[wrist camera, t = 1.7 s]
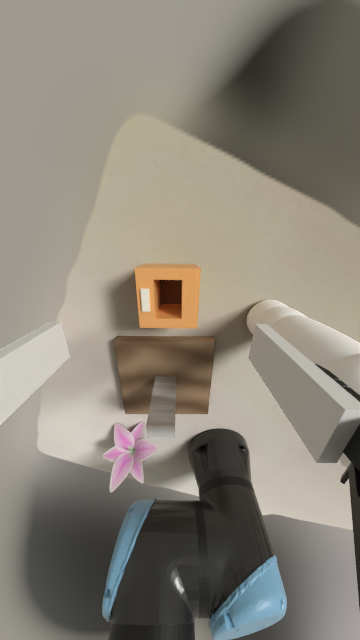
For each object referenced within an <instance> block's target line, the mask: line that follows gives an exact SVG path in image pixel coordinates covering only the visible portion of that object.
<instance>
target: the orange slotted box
mask: <svg viewBox="0 0 360 640" xmlns="http://www.w3.org/2000/svg"><path fill="white" fill-rule="evenodd" d="M200 272H201V268H199V267H198V266H197V265H196V264H143V265H140V266H138V267H135V279H136V291H137V302H138V314H139V326H140V328H197V324H198V307H199V289H200ZM160 280H181V304H160Z"/></svg>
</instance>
